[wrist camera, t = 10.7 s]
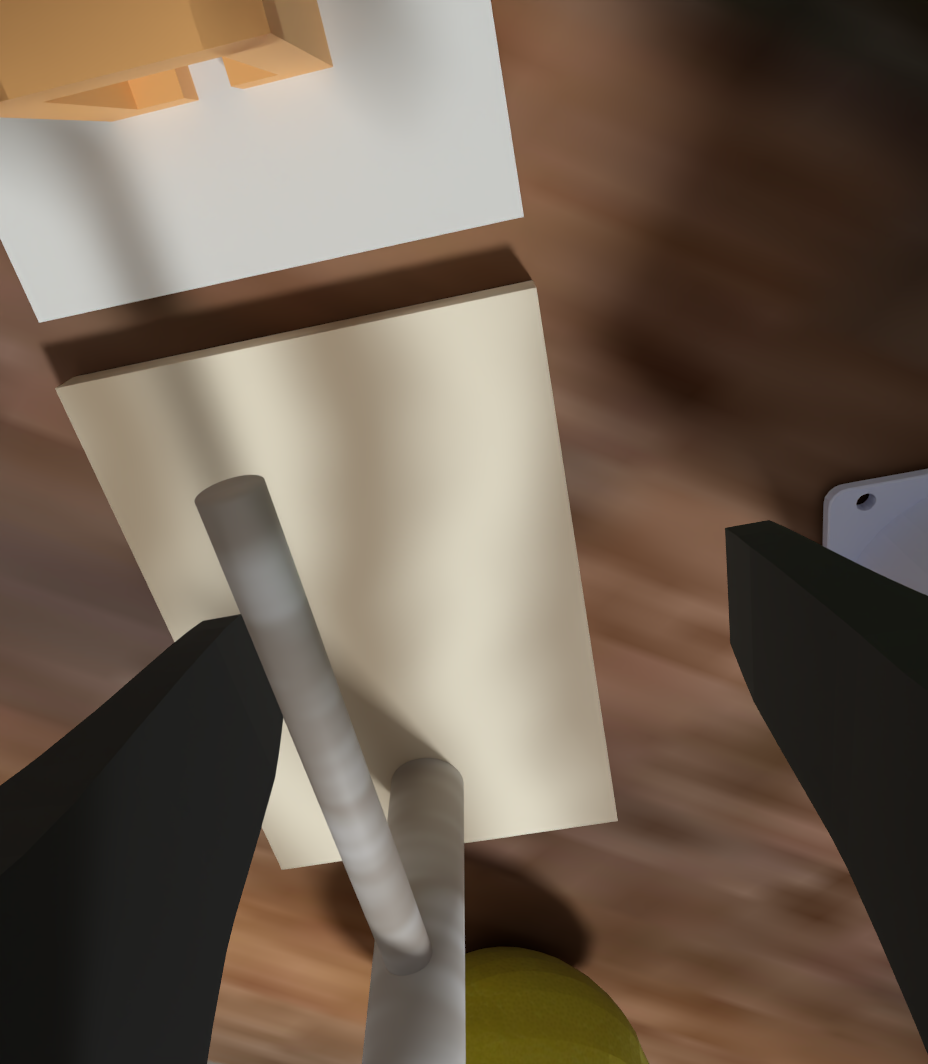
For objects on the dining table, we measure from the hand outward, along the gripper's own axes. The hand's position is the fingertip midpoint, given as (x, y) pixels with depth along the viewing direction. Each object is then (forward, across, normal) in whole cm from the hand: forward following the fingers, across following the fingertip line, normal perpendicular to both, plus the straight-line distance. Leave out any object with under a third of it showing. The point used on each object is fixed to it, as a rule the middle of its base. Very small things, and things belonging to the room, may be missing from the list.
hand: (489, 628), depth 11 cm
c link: (+10, +4, -9) cm, 14 cm away
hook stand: (+10, +4, +6) cm, 12 cm away
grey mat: (+10, +4, -9) cm, 14 cm away
